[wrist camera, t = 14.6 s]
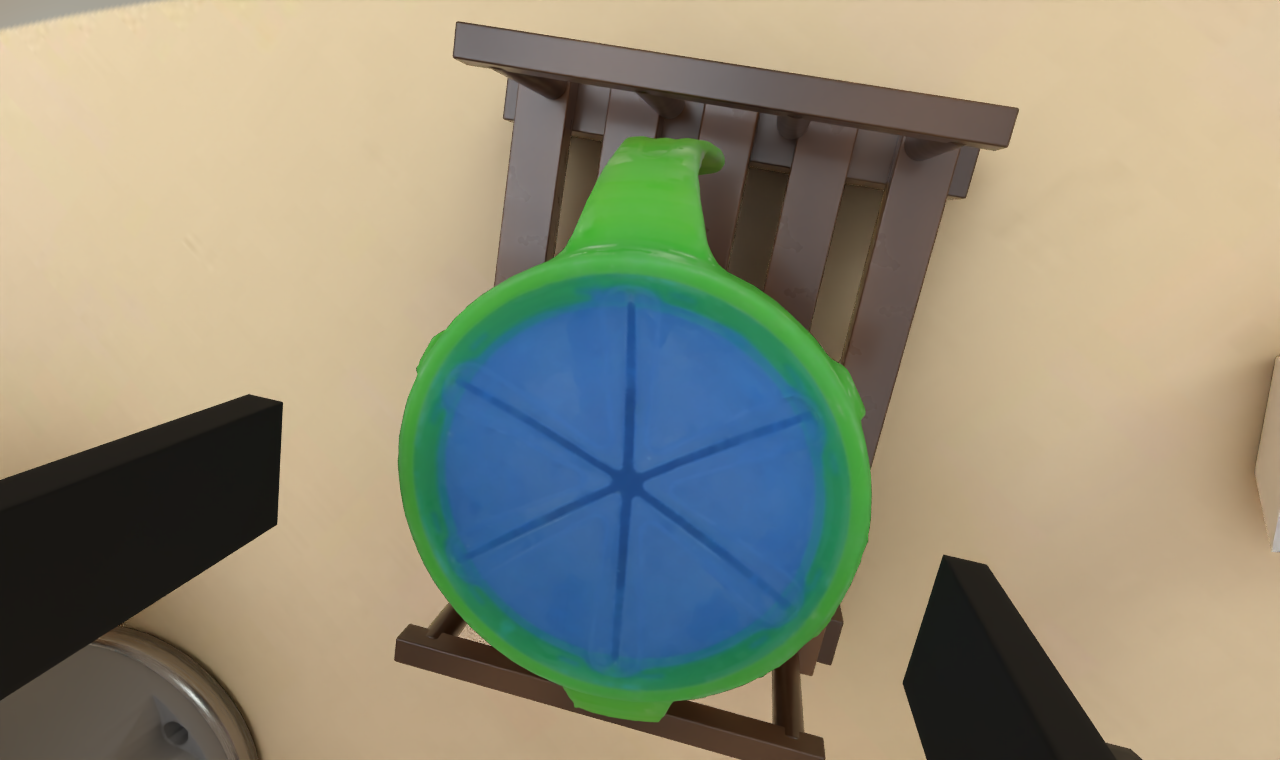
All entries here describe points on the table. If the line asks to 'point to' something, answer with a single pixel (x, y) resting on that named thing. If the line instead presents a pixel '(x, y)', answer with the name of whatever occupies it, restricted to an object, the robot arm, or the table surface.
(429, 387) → the snack cup
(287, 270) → the table surface
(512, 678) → the dish rack
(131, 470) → the robot arm
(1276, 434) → the figurine
